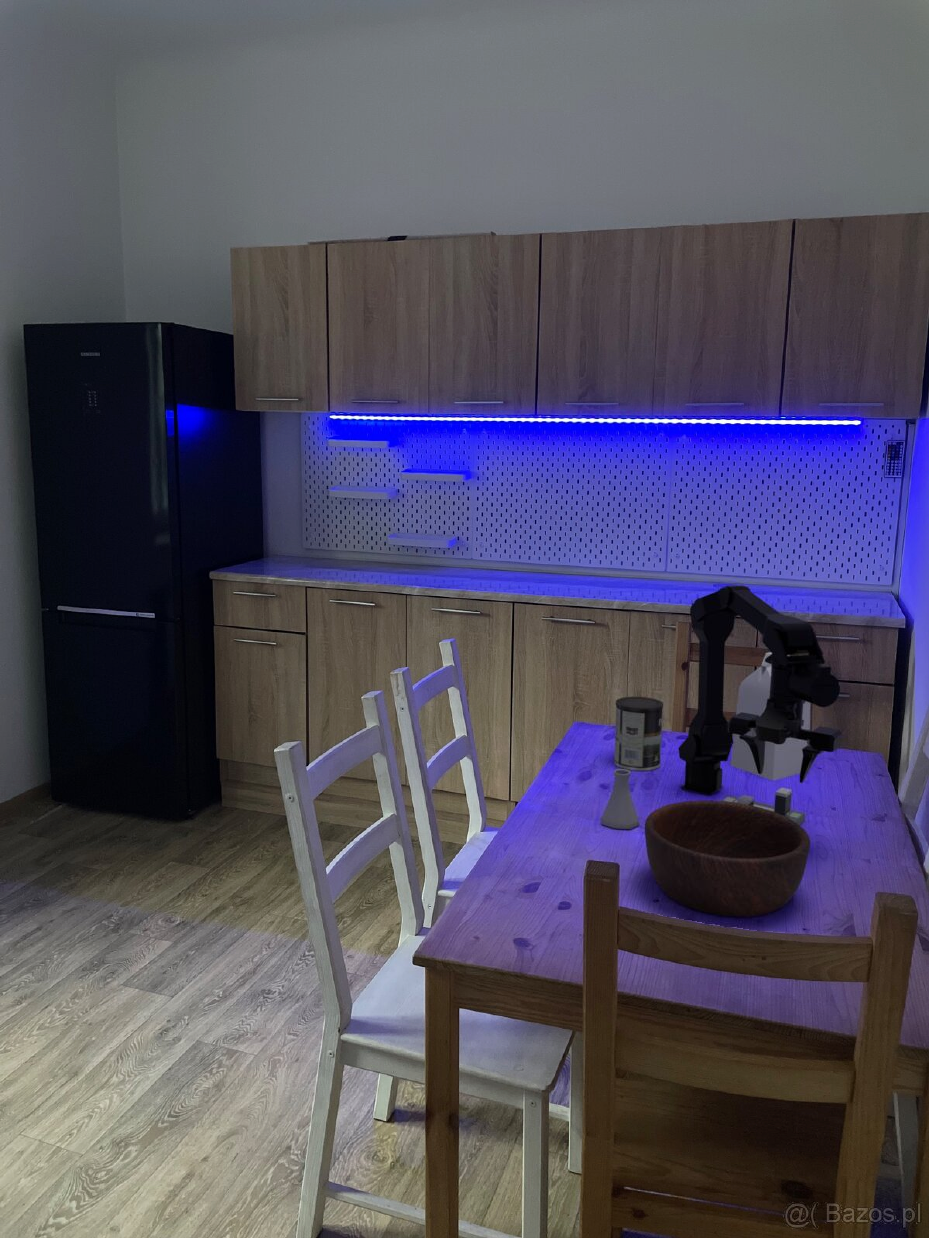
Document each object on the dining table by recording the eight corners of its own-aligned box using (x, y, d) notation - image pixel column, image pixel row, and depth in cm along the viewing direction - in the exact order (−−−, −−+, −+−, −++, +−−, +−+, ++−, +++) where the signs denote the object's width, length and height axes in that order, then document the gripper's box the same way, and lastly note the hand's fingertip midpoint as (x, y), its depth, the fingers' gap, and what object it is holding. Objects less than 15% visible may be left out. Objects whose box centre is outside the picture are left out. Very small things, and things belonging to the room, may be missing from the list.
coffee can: (655, 756, 219) (658, 696, 216) (664, 771, 209) (667, 708, 206) (610, 756, 219) (612, 695, 216) (616, 771, 209) (619, 707, 206)
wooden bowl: (819, 935, 139) (824, 867, 137) (642, 918, 143) (645, 853, 141) (792, 863, 163) (796, 805, 161) (641, 851, 167) (644, 794, 165)
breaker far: (774, 812, 181) (775, 791, 180) (780, 807, 183) (781, 787, 182) (784, 814, 180) (786, 794, 179) (790, 810, 182) (791, 789, 181)
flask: (644, 819, 181) (646, 768, 180) (633, 833, 175) (636, 780, 173) (606, 813, 184) (608, 763, 183) (595, 826, 178) (597, 774, 176)
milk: (772, 780, 204) (781, 660, 199) (730, 765, 213) (737, 650, 209) (809, 770, 210) (818, 653, 206) (766, 756, 220) (774, 644, 215)
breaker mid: (735, 820, 176) (737, 799, 176) (742, 815, 179) (743, 794, 178) (746, 822, 175) (747, 801, 175) (752, 818, 178) (753, 797, 177)
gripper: (717, 693, 168) (712, 778, 171) (826, 711, 157) (819, 802, 160) (742, 681, 177) (736, 763, 180) (846, 697, 166) (839, 784, 169)
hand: (780, 777), depth 172 cm, fingers open, 7 cm apart
